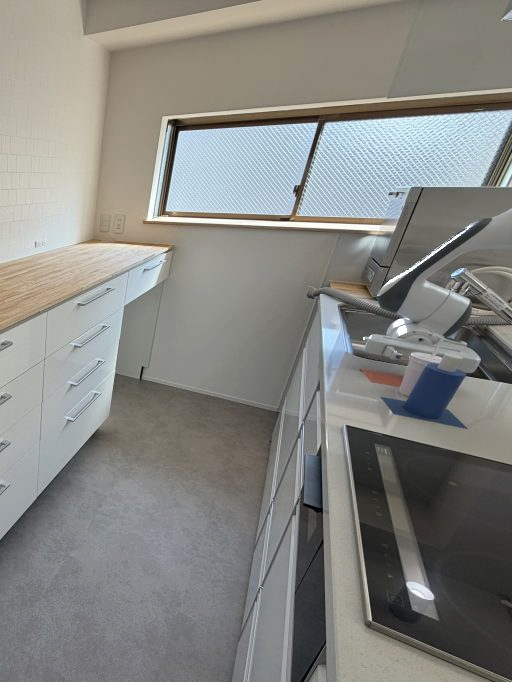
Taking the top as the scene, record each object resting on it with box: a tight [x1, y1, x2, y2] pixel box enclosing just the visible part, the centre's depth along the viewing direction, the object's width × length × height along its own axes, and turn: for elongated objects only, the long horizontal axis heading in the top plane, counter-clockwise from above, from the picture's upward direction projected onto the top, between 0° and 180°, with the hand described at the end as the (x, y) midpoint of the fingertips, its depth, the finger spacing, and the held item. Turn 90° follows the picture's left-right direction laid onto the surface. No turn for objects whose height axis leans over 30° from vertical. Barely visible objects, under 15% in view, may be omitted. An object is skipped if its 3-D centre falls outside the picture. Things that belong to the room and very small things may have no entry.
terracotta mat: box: [359, 368, 404, 388], centre depth 103 cm, size 13×9×1 cm
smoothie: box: [398, 339, 444, 397], centre depth 93 cm, size 6×6×14 cm
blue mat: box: [380, 395, 469, 430], centre depth 89 cm, size 12×9×1 cm
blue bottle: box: [403, 354, 467, 419], centre depth 85 cm, size 6×6×13 cm
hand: (423, 362), depth 95 cm, fingers open, 8 cm apart
